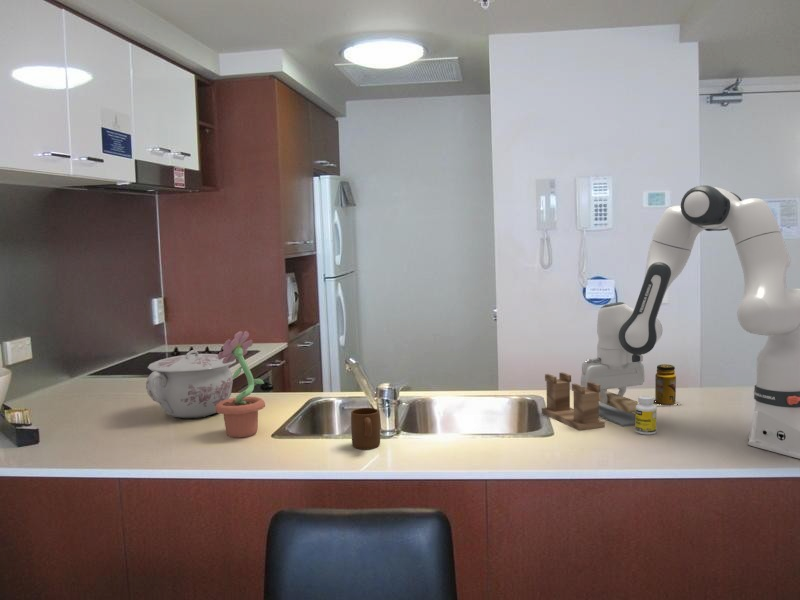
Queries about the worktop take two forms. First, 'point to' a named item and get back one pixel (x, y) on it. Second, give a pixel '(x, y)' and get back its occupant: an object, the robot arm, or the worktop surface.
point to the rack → (584, 402)
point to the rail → (620, 402)
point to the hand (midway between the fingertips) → (612, 402)
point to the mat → (616, 415)
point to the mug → (365, 428)
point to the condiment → (665, 386)
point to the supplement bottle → (645, 415)
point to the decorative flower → (241, 409)
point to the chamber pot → (190, 384)
